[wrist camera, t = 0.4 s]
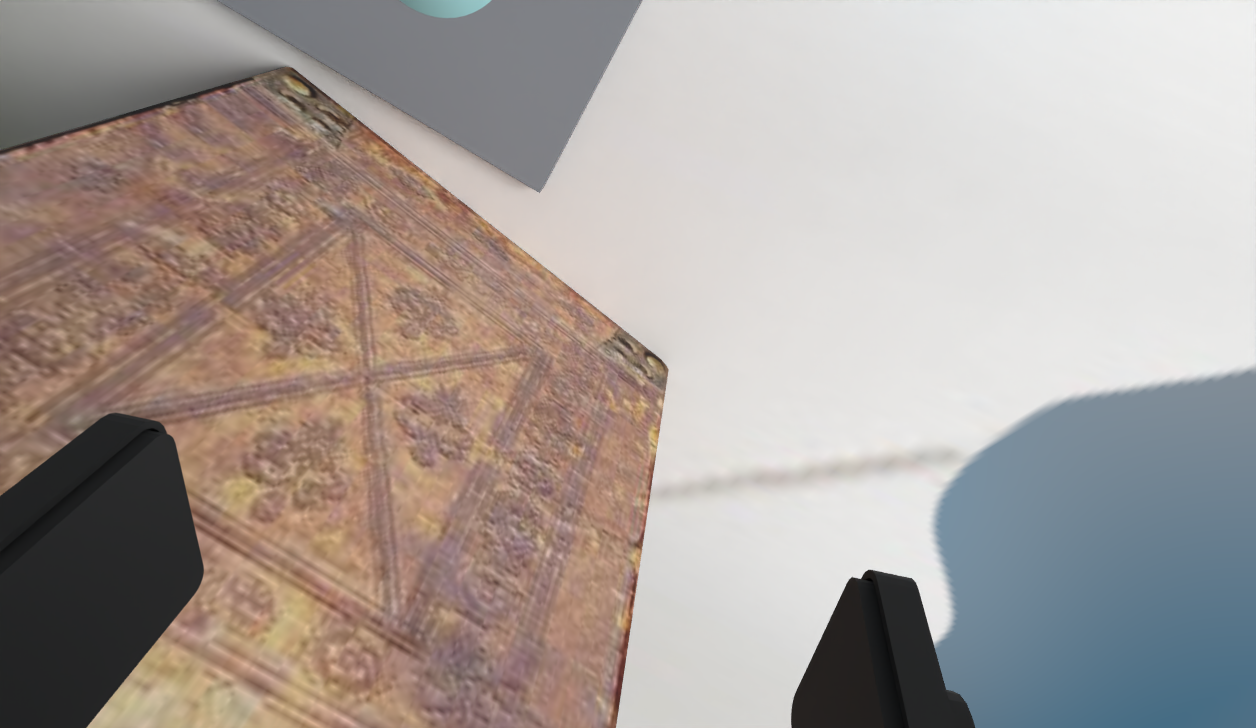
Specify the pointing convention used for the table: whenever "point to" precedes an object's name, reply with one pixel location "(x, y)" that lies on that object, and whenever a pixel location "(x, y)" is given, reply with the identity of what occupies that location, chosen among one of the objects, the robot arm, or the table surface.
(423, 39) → the charging mat
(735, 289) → the table surface
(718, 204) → the table surface
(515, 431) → the book
